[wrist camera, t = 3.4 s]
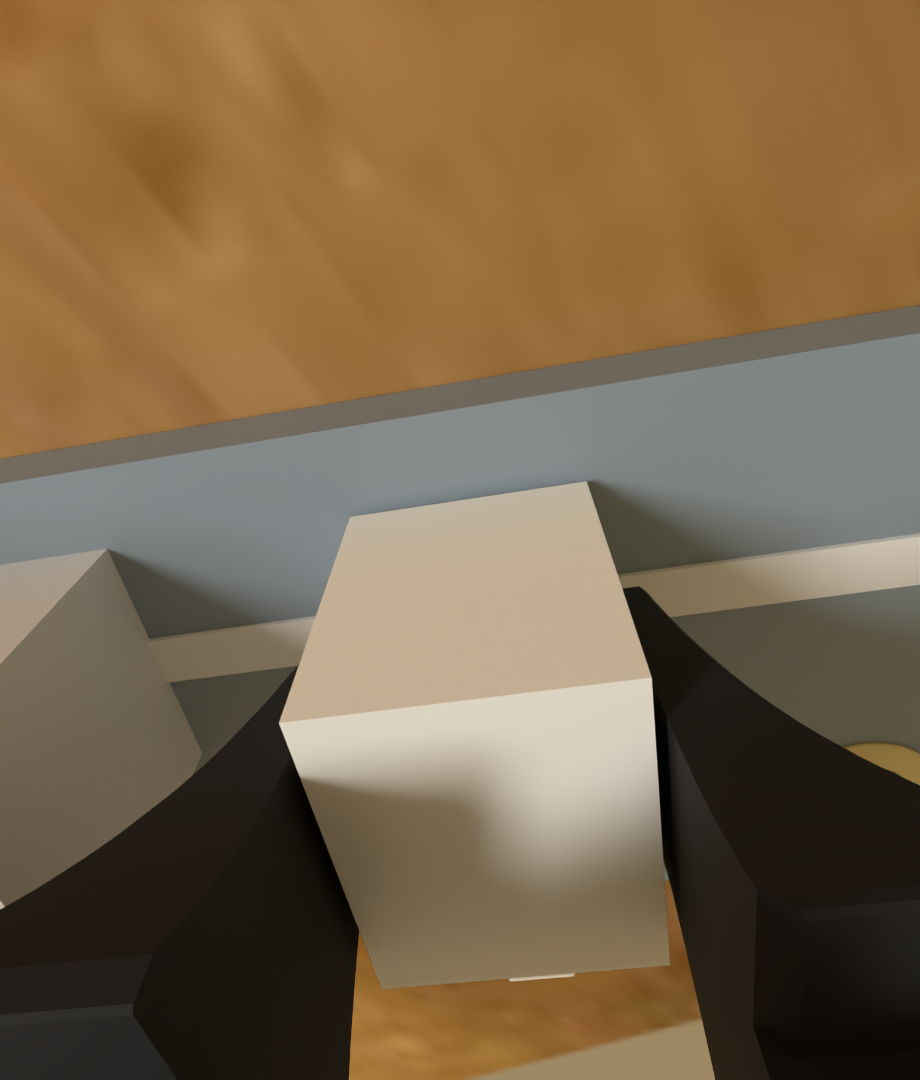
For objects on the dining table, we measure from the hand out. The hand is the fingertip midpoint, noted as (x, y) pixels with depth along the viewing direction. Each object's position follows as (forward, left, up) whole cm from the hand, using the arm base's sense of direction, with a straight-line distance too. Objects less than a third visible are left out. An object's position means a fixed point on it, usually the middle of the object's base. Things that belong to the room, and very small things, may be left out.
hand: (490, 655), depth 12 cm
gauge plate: (0, -2, -3) cm, 3 cm away
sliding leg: (0, -2, -1) cm, 2 cm away
